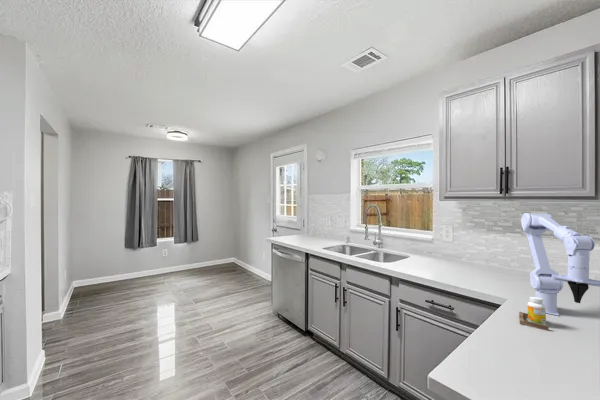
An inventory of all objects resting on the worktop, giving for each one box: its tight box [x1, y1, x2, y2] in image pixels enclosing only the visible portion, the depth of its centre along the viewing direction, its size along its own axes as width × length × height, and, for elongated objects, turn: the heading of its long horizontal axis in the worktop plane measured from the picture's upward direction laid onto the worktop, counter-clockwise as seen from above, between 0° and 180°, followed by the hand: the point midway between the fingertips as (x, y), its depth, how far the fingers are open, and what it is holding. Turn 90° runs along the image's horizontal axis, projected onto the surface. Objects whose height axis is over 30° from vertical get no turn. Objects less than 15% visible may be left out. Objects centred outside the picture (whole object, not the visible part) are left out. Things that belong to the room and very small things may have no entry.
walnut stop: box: [518, 311, 549, 331], centre depth 108 cm, size 10×8×2 cm
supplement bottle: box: [527, 296, 547, 325], centre depth 107 cm, size 5×5×10 cm
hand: (577, 302), depth 103 cm, fingers closed
